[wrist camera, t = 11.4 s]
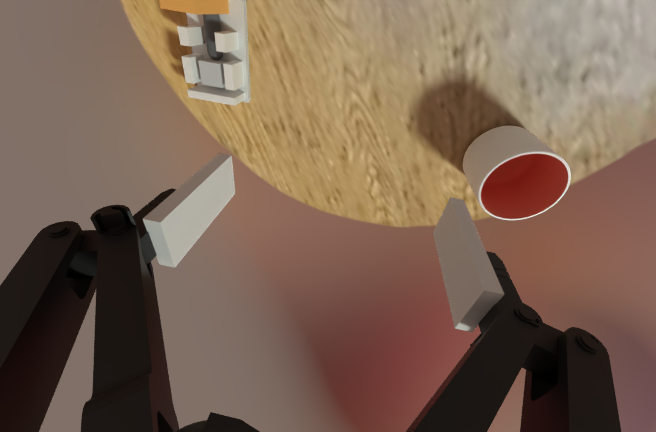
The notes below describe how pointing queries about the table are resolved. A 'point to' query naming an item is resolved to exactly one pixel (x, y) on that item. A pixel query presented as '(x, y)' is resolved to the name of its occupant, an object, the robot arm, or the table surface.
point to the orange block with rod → (209, 4)
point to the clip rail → (234, 51)
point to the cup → (514, 173)
